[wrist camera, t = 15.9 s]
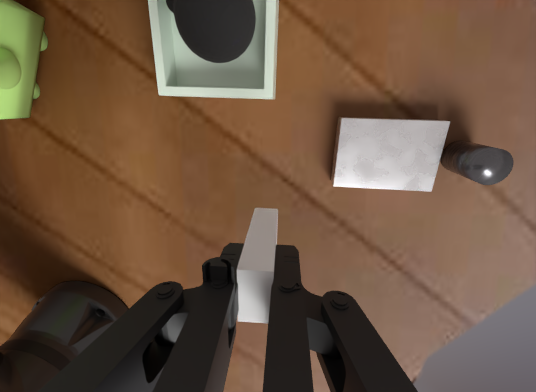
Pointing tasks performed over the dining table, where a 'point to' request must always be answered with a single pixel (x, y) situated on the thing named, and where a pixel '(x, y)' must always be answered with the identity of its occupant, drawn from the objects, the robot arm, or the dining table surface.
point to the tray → (215, 74)
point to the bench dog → (477, 162)
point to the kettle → (19, 58)
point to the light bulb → (215, 27)
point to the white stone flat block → (388, 153)
